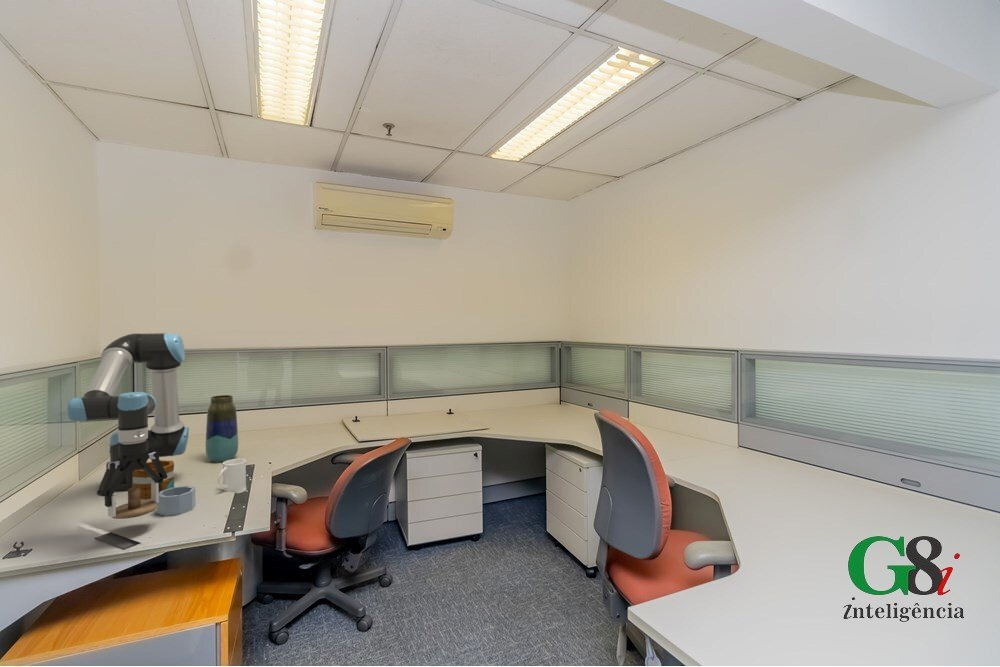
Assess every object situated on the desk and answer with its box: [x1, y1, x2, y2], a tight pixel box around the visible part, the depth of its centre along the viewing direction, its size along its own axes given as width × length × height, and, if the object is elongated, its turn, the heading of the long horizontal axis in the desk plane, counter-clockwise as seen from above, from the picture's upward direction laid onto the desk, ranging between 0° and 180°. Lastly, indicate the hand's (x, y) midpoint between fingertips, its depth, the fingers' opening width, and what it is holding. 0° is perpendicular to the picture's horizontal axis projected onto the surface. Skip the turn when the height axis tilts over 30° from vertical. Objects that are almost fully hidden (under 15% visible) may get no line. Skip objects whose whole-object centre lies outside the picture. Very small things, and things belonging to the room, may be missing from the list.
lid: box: [111, 487, 157, 520], centre depth 150 cm, size 12×12×7 cm
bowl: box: [156, 485, 197, 517], centre depth 167 cm, size 10×10×8 cm
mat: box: [94, 531, 141, 551], centre depth 151 cm, size 16×14×1 cm
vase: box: [205, 394, 239, 463], centre depth 231 cm, size 14×14×31 cm
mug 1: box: [132, 459, 175, 501], centre depth 177 cm, size 20×14×15 cm
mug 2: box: [217, 458, 247, 494], centre depth 188 cm, size 12×8×12 cm
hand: (134, 508), depth 150 cm, fingers closed on lid, 11 cm apart
